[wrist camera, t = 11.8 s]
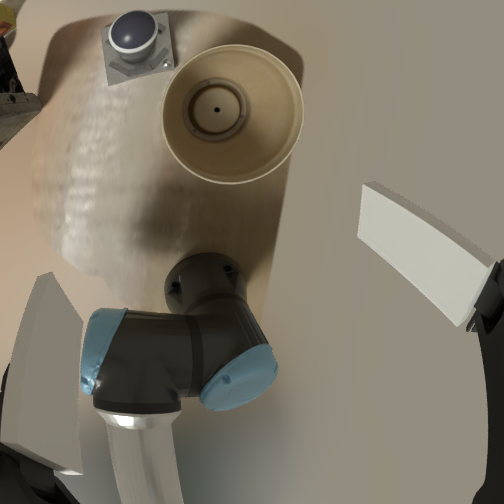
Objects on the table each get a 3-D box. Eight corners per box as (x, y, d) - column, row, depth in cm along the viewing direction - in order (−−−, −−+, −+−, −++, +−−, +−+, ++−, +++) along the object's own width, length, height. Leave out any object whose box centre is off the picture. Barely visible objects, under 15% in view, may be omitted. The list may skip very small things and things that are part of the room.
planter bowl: (254, 168, 42) (286, 191, 33) (150, 157, 35) (151, 179, 26) (278, 71, 34) (319, 68, 25) (171, 48, 27) (179, 30, 19)
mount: (174, 69, 29) (175, 67, 27) (109, 86, 27) (106, 85, 25) (167, 14, 24) (168, 8, 22) (102, 30, 22) (99, 26, 20)
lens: (154, 27, 24) (156, 3, 16) (157, 58, 27) (160, 44, 19) (116, 36, 23) (106, 15, 15) (120, 68, 26) (110, 57, 18)
